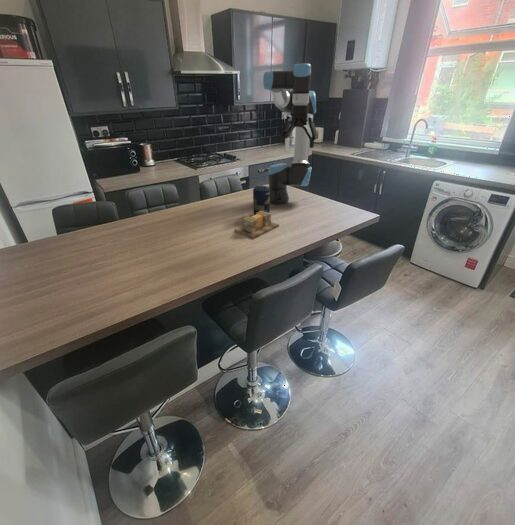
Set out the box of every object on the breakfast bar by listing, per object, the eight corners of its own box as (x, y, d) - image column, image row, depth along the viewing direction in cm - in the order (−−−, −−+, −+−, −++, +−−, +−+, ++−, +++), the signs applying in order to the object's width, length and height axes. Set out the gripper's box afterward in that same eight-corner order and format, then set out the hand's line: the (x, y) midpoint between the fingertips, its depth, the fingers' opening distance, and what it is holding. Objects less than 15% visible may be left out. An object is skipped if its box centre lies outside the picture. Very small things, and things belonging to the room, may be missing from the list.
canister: (260, 211, 177) (260, 182, 168) (273, 215, 172) (273, 185, 163) (250, 216, 171) (249, 186, 162) (262, 220, 166) (262, 189, 156)
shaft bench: (259, 219, 166) (259, 207, 163) (278, 226, 158) (279, 213, 155) (234, 231, 154) (233, 218, 150) (253, 238, 146) (253, 225, 142)
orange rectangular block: (257, 224, 158) (257, 214, 155) (262, 226, 156) (262, 215, 153) (251, 227, 155) (250, 216, 152) (256, 229, 153) (256, 218, 150)
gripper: (274, 104, 138) (273, 151, 149) (319, 105, 123) (315, 157, 134) (283, 103, 142) (282, 149, 153) (328, 104, 128) (323, 155, 139)
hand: (297, 153), depth 144 cm, fingers open, 13 cm apart
